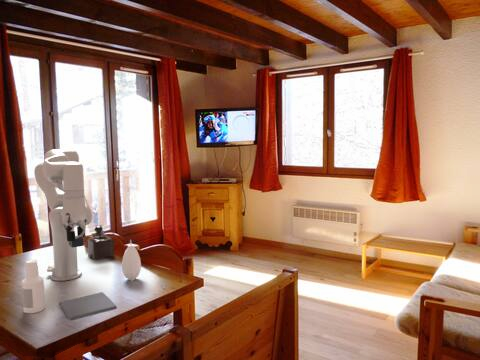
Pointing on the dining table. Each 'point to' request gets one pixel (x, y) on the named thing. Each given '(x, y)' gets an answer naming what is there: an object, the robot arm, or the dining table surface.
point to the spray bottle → (33, 289)
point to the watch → (78, 238)
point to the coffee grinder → (100, 245)
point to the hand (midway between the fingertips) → (76, 238)
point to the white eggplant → (131, 263)
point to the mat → (86, 305)
